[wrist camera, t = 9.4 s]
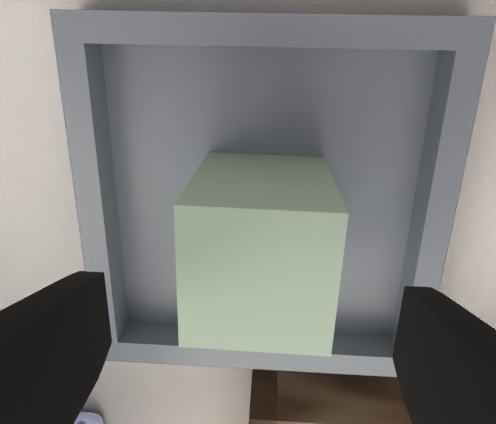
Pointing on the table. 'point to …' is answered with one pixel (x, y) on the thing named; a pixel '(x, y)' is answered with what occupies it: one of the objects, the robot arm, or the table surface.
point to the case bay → (325, 399)
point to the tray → (268, 152)
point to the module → (259, 254)
